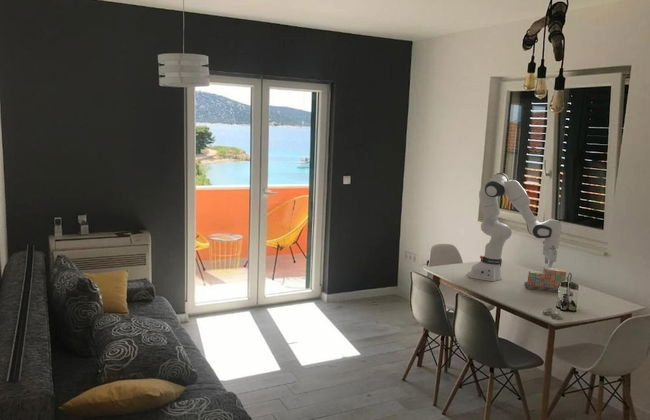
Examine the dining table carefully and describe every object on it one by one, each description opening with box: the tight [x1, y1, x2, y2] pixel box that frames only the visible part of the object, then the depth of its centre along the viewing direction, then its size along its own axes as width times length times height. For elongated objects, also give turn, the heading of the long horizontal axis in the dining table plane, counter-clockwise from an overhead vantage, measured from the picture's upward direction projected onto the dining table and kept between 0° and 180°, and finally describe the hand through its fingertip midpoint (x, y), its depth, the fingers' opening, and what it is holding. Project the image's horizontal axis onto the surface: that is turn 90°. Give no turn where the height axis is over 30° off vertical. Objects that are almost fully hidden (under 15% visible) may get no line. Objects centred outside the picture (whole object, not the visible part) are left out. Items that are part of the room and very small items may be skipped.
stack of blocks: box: [526, 267, 567, 289], centre depth 351 cm, size 21×6×12 cm, turn 82°
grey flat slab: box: [523, 281, 558, 293], centre depth 352 cm, size 25×10×2 cm, turn 80°
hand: (547, 265), depth 350 cm, fingers open, 8 cm apart
